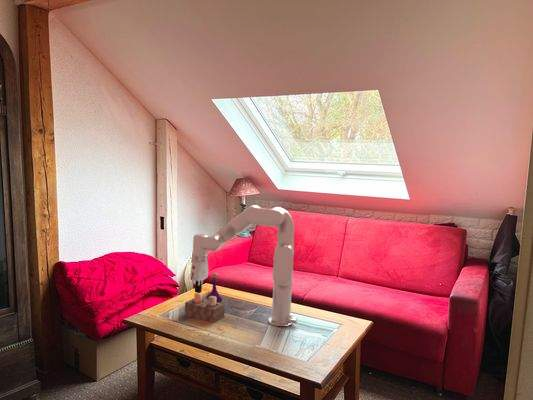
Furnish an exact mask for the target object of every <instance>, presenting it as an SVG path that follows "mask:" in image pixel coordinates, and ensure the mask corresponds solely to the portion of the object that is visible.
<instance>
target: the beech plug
mask: <svg viewBox="0 0 533 400" xmlns="http://www.w3.org/2000/svg"><path fill="white" fill-rule="evenodd" d="M216 298H217V297H215V296H210V297H209V303H208V306H210V307H215V306H216Z"/></svg>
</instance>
